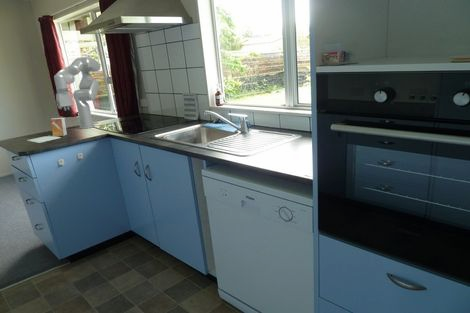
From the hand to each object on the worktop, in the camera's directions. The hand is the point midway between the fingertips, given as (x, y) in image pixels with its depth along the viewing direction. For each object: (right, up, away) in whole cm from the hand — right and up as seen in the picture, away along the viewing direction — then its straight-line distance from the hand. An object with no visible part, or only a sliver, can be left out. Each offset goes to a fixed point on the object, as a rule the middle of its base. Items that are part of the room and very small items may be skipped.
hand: (67, 115), depth 258 cm
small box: (-4, -16, -2) cm, 17 cm away
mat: (-12, -19, -11) cm, 25 cm away
